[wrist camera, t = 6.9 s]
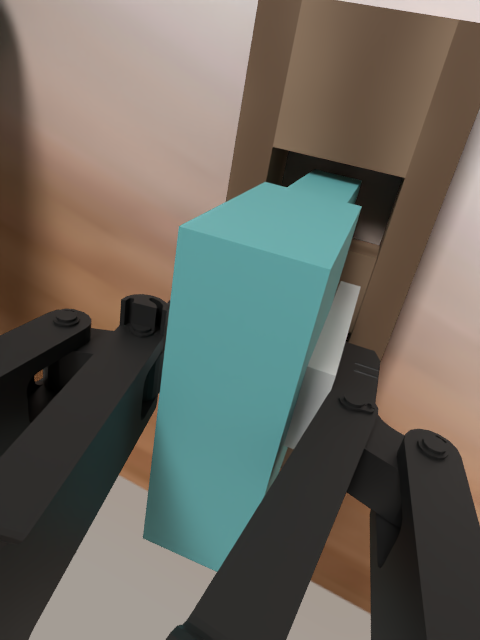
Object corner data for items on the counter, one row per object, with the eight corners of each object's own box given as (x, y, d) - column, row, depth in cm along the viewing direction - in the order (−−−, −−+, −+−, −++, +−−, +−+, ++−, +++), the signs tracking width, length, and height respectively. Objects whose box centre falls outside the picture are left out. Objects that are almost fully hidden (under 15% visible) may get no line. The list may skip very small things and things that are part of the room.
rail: (209, 401, 27) (188, 432, 25) (282, 5, 18) (260, -12, 15) (339, 449, 26) (331, 487, 23) (494, 40, 16) (510, 28, 14)
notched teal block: (260, 349, 23) (142, 538, 13) (304, 161, 19) (179, 225, 9) (316, 367, 23) (239, 581, 13) (375, 178, 18) (330, 269, 8)
